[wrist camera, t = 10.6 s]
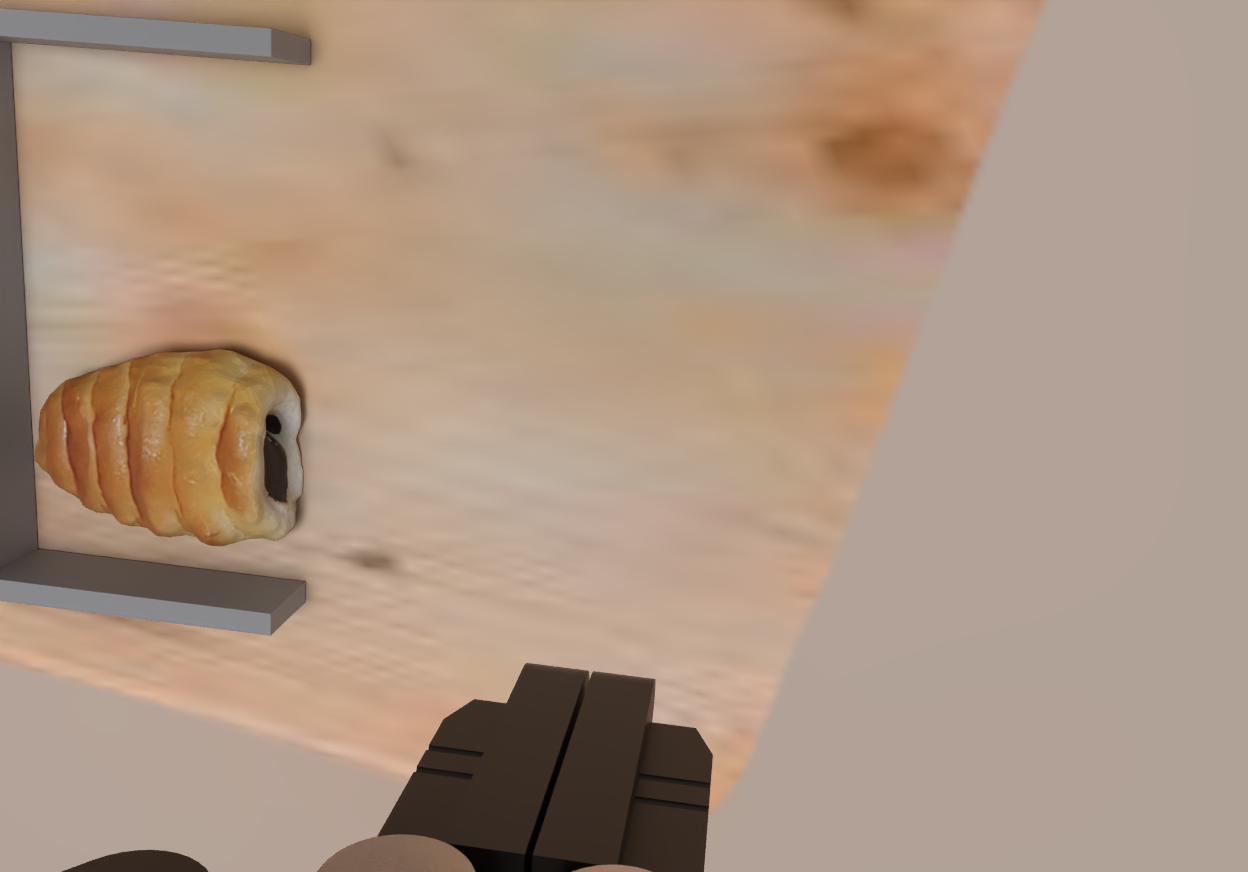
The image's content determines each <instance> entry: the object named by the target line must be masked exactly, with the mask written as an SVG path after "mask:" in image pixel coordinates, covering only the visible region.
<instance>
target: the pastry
mask: <svg viewBox="0 0 1248 872" xmlns="http://www.w3.org/2000/svg"><path fill="white" fill-rule="evenodd" d="M300 425H301V408H300V397H299V395H298V394H297V392H296V390H295V388H294V387H293V385H292V384H291V382H290V381H289V380H288V379H287V378H286V377H285V376H283V375H282V374H281V373H279V372H277V371H276V370H274V369H273V368H271V367H269V366H267V365H265V364H263V363H260V362H257V361H255V360H253V359H250V358H248V357H246V356H243V355H241V354H239V353H236V352H234V351H230V350H223V349H215V350H209V351H200V352H159V353H154V354H152V355H150V356H146V357H141V358H135V359H131V360H129V361H126V362H124V363H121V364H119V365H114V366H110V367H104V368H101V369H99V370H97V371H93V372H90V373H87V374H85V375H83V376H80V377H76V378H72V379H69V380H66V381H65V382H64V383H62V384H61V385H60V386H59V387H58V388H57V389H56V390H55V391H54V392H53V393H51V394H50V396H49V397H48V399H47V401H46V403H45V404H44V406H43V408H42V409H41V412H40V420H39V441H38V443H37V445H36V449H35V461H36V462H37V463H38V464H39V466H40V467H41V468H42V469H43V470H44V471H46V472H47V473H49V475H50V476H51V478H52V480H53V482H54V483H55V484H56V485H57V486H58V487H60V488H62V489H64V490H65V491H67V492H68V493H70V494H72V495H74V496H76V497H77V498H79V499H80V500H81V502H82V505H84V506H85V507H86V508H88V509H90V510H93V511H94V512H100V513H109V514H113V515H114V517H115V518H116V520H117V521H118V522H120V523H121V524H124V525H128V526H141V527H146V528H148V529H149V530H151V531H152V532H153V533H154V534H155V535H157V536H165V537H173V536H182V535H189V536H194V537H195V536H196V537H197V538H198V539H199V540H200V541H201V542H203V543H205V544H208V545H211V546H225V545H228V544H232V543H235V542H239V541H242V540H246V539H256V538H266V539H270V540H273V541H276V540H279V539H281V538H283V537H285V536H286V535H287V534H288V533H289V532H290V530H291V529H292V528H293V527H294V525H295V512H296V509H297V506H296V501H297V499H298V498H299V497H300V496H301V494H302V488H303V469H302V466H301V456H300V451H299V448H298V445H297V441H296V437H297V433H298V431H299V429H300Z"/></svg>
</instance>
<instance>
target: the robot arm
mask: <svg viewBox="0 0 1248 872" xmlns="http://www.w3.org/2000/svg"><path fill="white" fill-rule="evenodd" d="M654 697H655V679H650V678H642V677H634V676H626V675H618V674H611V673H603V672H595V671H593V673H592V675H591V678H590V681H589V671H586V670H578V669H570V668H562V667H554V666H546V665H539V664H531V663H526V664H525V665H524V667H523V669H522V671H521V674H520V676H519V678H518V680H517V682H516V684H515V686H514V689H513V691H512V693H511V695H510V697H509V699H508V701H507V704H506V703H499V702H491V701H483V700H476V699H474V700H472V701H471V702H469V703H468V704H466V705H465V706H463V707H462V708H460V709H459V710H457V711H456V712H454V713H453V714H451V715H449V716H448V717H446V718H445V719H444V720H443V721H442V723H441V725H440V727H439V729H438V730H437V732H436V734H435V736H434V737H433V739H432V741H431V743H430V744H429V749H428V750H426V751H425V753H424V755H423V757H422V759H421V760H420V762H419V764H418V766H417V770H416V772H414V773H413V774H412V776H411V778H410V780H409V782H408V783H407V785H406V787H405V789H404V790H403V792H402V794H401V796H400V797H399V799H398V801H397V803H396V804H395V806H394V808H393V810H392V812H391V813H390V815H389V817H388V819H387V820H386V822H385V824H384V826H383V827H382V829H381V831H380V833H379V835H378V836H377V837H373V838H370V839H366V840H363V841H360V842H357V843H355V844H352V845H350V846H347V847H346V848H344V849H342V850H340V851H339V852H337V853H336V854H334V855H333V856H332V857H331V858H329V859H328V860H327V861H326V862H325V863H324V864H323V866H321V867H320V869H319V870H318V871H317V872H704V862H705V849H706V835H707V823H708V809H709V797H710V784H711V771H712V758H713V755H712V753H711V751H710V750H709V748H708V747H707V745H706V743H705V742H704V740H703V739H702V737H701V735H700V734H699V732H698V731H697V729H696V728H690V727H683V726H675V725H667V724H660V723H652V718H653V708H654ZM63 872H208V871H207V869H206V868H205V867H204V866H202V865H201V864H200V863H199V862H197V861H195V860H193V859H191V858H190V857H187V856H184V855H181V854H178V853H173V852H168V851H159V850H138V851H129V852H121V853H117V854H113V855H108V856H105V857H101V858H98V859H95V860H92V861H89V862H87V863H84V864H81V865H79V866H76V867H73V868H71V869H68V870H65V871H63Z"/></svg>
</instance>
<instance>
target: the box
mask: <svg viewBox="0 0 1248 872" xmlns="http://www.w3.org/2000/svg"><path fill="white" fill-rule="evenodd" d="M10 42H16V43H29V44H42V45H55V46H67V47H80V48H93V49H106V50H119V51H132V52H145V53H158V54H171V55H184V56H197V57H209V58H222V59H235V60H248V61H261V62H274V63H287V64H300V65H310V43H311V39H307V38H304V37H300V36H297V35H293V34H289V33H286V32H282V31H279V30H275V29H271V28H259V27H245V26H232V25H218V24H205V23H192V22H178V21H165V20H151V19H138V18H124V17H111V16H98V15H84V14H71V13H57V12H44V11H30V10H17V9H4V8H0V601H5V602H13V603H20V604H28V605H36V606H44V607H52V608H59V609H67V610H75V611H83V612H90V613H98V614H106V615H114V616H122V617H129V618H137V619H145V620H153V621H161V622H168V623H176V624H184V625H192V626H199V627H207V628H215V629H223V630H231V631H238V632H246V633H254V634H262V635H270V636H271V635H272V634H273V633H274V632H275V631H276V630H277V629H278V628H279V627H280V626H281V625H282V624H283V623H284V622H285V621H286V620H287V619H288V618H289V617H290V616H291V615H292V614H293V613H294V612H296V611H297V610H298V609H299V608H300V607H301V606H302V605H303V604H304V603H305V586H306V582H304V581H296V580H288V579H280V578H272V577H264V576H255V575H247V574H239V573H231V572H223V571H215V570H207V569H199V568H191V567H182V566H174V565H166V564H158V563H150V562H142V561H134V560H126V559H118V558H109V557H101V556H93V555H85V554H77V553H69V552H61V551H53V550H45V549H38V537H37V519H36V501H35V482H34V464H33V446H32V427H31V409H30V391H29V373H28V354H27V336H26V318H25V299H24V281H23V263H22V244H21V226H20V208H19V190H18V171H17V153H16V135H15V116H14V98H13V80H12V62H11V43H10Z"/></svg>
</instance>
